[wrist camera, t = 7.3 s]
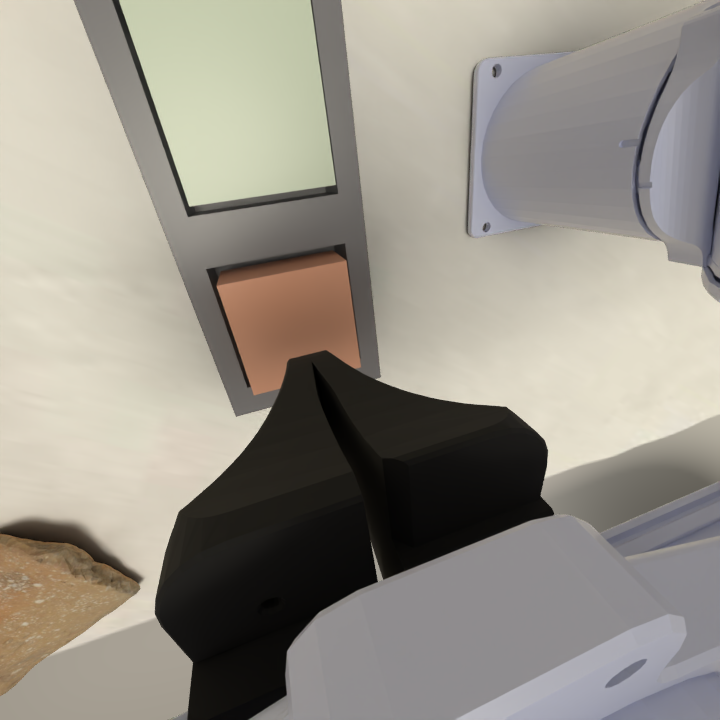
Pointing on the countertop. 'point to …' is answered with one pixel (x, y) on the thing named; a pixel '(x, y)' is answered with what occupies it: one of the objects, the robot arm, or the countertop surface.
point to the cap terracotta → (289, 314)
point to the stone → (50, 600)
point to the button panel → (249, 215)
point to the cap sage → (236, 94)
